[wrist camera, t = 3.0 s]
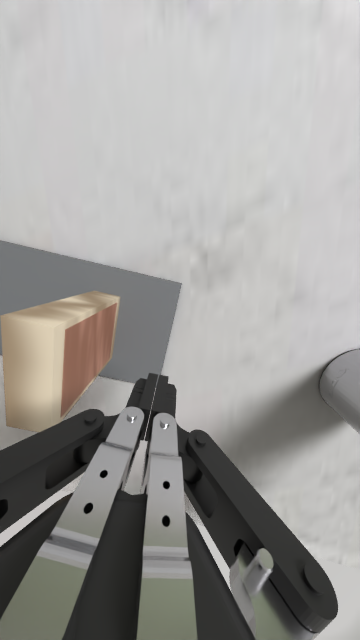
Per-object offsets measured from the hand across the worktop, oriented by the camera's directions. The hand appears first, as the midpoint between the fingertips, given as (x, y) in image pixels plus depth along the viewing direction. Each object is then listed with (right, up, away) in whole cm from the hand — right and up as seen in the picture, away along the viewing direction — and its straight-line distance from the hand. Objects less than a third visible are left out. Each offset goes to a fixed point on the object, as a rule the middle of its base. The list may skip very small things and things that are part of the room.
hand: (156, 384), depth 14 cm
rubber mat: (-10, +5, +9) cm, 14 cm away
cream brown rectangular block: (-7, +4, +8) cm, 12 cm away
